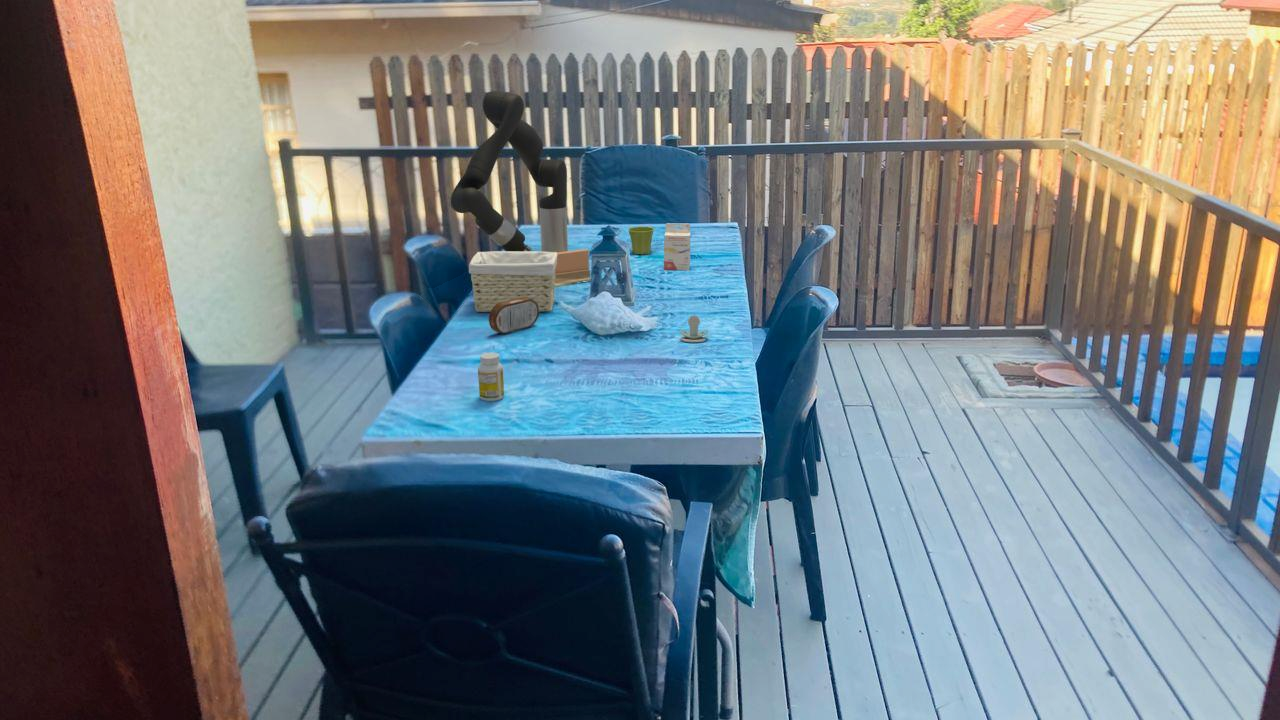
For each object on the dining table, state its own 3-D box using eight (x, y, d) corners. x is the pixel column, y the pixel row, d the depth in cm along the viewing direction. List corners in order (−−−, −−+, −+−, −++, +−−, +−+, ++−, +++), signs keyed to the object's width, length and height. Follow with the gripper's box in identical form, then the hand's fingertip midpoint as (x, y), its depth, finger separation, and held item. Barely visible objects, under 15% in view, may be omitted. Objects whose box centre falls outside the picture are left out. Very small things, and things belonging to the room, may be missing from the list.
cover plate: (545, 282, 303) (544, 254, 300) (585, 276, 309) (584, 248, 306) (548, 283, 301) (547, 255, 298) (589, 278, 307) (588, 250, 304)
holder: (527, 280, 304) (526, 271, 303) (578, 273, 313) (578, 264, 312) (541, 288, 295) (541, 279, 294) (594, 281, 303) (593, 271, 302)
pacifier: (707, 344, 243) (708, 336, 248) (707, 321, 241) (708, 313, 246) (678, 344, 244) (680, 336, 249) (678, 320, 241) (680, 313, 247)
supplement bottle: (491, 403, 206) (488, 361, 202) (474, 398, 209) (471, 356, 206) (509, 396, 209) (507, 354, 206) (493, 391, 213) (490, 349, 210)
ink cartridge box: (663, 270, 316) (663, 225, 311) (664, 266, 321) (664, 222, 316) (689, 270, 315) (690, 226, 310) (690, 266, 320) (690, 223, 315)
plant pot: (623, 255, 337) (623, 230, 335) (634, 249, 346) (633, 225, 343) (648, 257, 334) (648, 232, 331) (658, 251, 342) (658, 227, 339)
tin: (534, 323, 261) (532, 293, 258) (541, 325, 259) (540, 295, 256) (488, 335, 251) (486, 304, 249) (496, 337, 249) (494, 306, 246)
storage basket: (560, 298, 285) (558, 249, 280) (555, 314, 269) (553, 262, 264) (479, 299, 284) (476, 250, 280) (470, 315, 269) (466, 263, 264)
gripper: (522, 229, 285) (561, 265, 295) (505, 222, 296) (544, 256, 306) (506, 249, 285) (546, 284, 294) (490, 241, 296) (529, 274, 305)
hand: (544, 270), depth 300 cm, fingers closed
